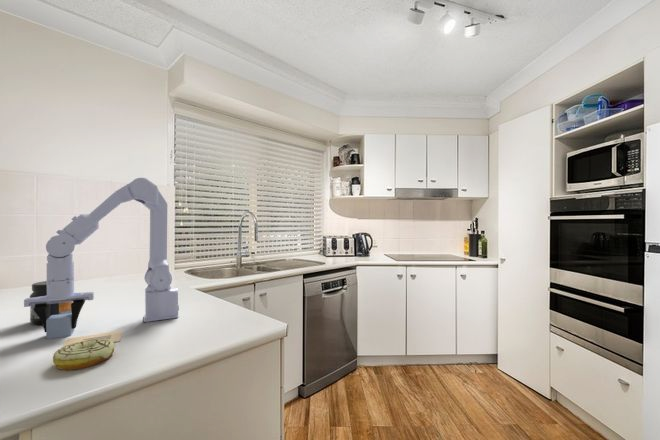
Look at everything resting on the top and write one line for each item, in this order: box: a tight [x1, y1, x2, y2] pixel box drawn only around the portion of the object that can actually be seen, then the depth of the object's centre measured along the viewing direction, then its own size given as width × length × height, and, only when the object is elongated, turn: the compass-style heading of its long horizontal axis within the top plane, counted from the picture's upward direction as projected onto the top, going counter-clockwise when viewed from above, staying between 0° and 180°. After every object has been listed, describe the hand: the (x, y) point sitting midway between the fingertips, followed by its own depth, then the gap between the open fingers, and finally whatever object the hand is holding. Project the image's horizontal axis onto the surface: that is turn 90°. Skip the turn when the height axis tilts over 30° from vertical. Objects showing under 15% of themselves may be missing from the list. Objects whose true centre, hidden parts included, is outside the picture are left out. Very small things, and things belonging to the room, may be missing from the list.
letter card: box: [60, 330, 123, 348], centre depth 83 cm, size 12×9×1 cm
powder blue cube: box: [45, 313, 75, 340], centre depth 88 cm, size 5×5×5 cm
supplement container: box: [29, 280, 73, 326], centre depth 101 cm, size 10×10×12 cm
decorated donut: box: [52, 339, 115, 371], centre depth 71 cm, size 10×11×4 cm
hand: (60, 329), depth 88 cm, fingers closed on powder blue cube, 5 cm apart
